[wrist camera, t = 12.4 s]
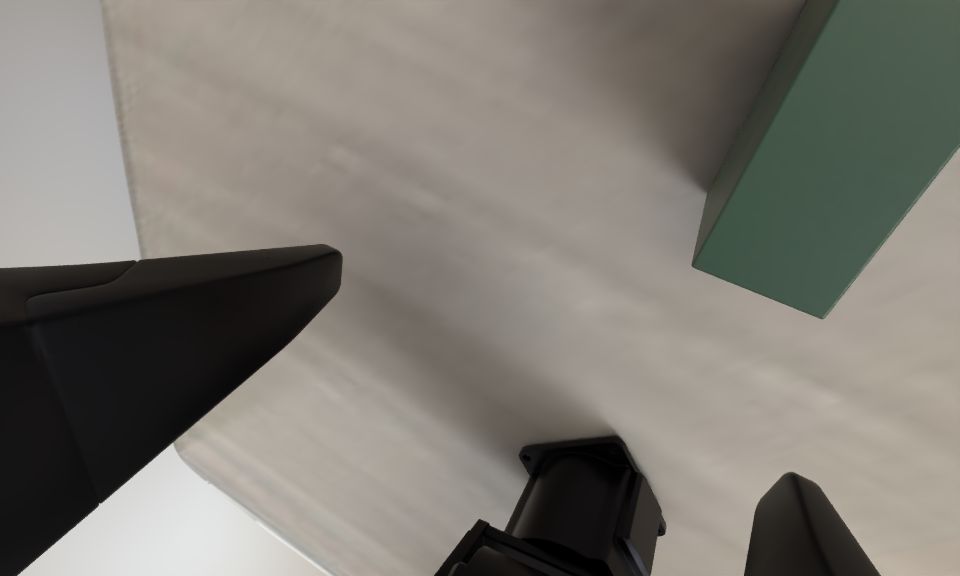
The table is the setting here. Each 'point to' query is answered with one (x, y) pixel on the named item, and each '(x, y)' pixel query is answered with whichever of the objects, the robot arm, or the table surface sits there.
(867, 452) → the table surface
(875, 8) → the green block
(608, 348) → the table surface
